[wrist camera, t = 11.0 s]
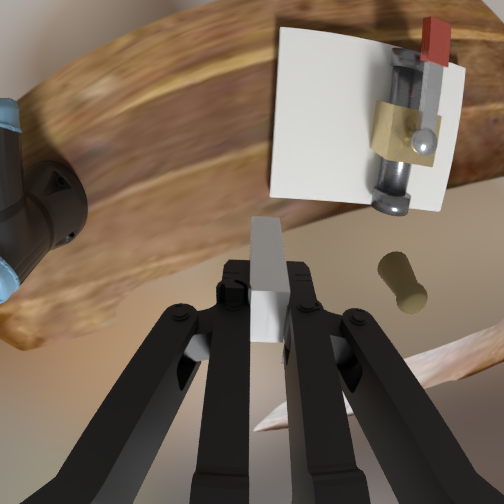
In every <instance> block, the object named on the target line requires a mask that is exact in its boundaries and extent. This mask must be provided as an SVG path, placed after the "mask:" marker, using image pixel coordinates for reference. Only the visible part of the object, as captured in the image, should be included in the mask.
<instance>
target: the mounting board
mask: <svg viewBox="0 0 504 504" xmlns="http://www.w3.org/2000/svg"><path fill="white" fill-rule="evenodd" d="M392 48H401V47H397V46H394V45H390V44H385V43H381V42H377V41H372V40H368V39H363V38H358V37H353V36H347V35H342V34H335V33H329V32H322V31H315V30H307V29H298V28H287V27H280V29H279V47H278V65H277V82H276V99H275V115H274V131H273V146H272V161H271V176H270V191H269V193H270V197H277V198H295V199H310V200H325V201H338V202H350V203H362V204H371V200H372V195H373V189H374V187H375V186H377V182H378V176H379V170H380V164H381V158H382V156H380V155H379V154H377V153H376V152H375V151H373V150H372V149H370V143H371V136H372V129H373V121H374V113H375V104H376V100H378V101H384V102H389V101H390V92H391V82H392V72H393V66H391V65H390V63H391V49H392ZM464 79H465V68H463V67H461V66H458V65H455V64H453V63H450V62H449V65H448V67H444V69H443V79H442V87H441V95H440V103H439V109H438V115H440V116H442V118H441V125H440V131H439V137H438V145H437V148H436V154H435V159H434V164H433V167H427V166H421V165H416V164H412V166H411V171H410V176H409V181H408V186H407V191H406V192H407V193H409V194H410V195H411V201H410V205H409V208H413V209H422V210H430V211H439V212H440V209H441V205H442V201H443V198H444V194H445V190H446V185H447V181H448V177H449V173H450V168H451V163H452V158H453V154H454V148H455V143H456V137H457V132H458V126H459V119H460V113H461V105H462V97H463V89H464Z"/></svg>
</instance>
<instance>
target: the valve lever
mask: <svg viewBox="0 0 504 504" xmlns="http://www.w3.org/2000/svg"><path fill="white" fill-rule="evenodd" d="M450 38H451V24H448V23H446V22H444V21H441V20H438V19H436V18H433V17H427V18H423V29H422V45H421V58H420V61H423V62H425V64H424V74H423V83H422V91H421V99H420V106H419V113H418V119H417V126H416V128H415V129H414V130H413V131H412V132H411V134H410V137H409V143H410V146H411V148H412V149H413V150H414V151H416V152H417V153H419V154H421V155H423V156H429V155H431V154H433V153H434V152H435V150H436V148H437V145H438V140H437V137H436V135H435V128H436V122H437V116H438V109H439V103H440V95H441V87H442V79H443V69H444V67H448V65H449V53H450Z"/></svg>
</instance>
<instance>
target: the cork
mask: <svg viewBox="0 0 504 504" xmlns="http://www.w3.org/2000/svg"><path fill="white" fill-rule="evenodd" d="M378 274H379V275H380V277H381V278H382V279H383V280H384V281H385V283H386V284H387V285H388V287H389V288H390V289H391V290H392V292H393V293H394V294H395V296H396V301H397V305H398V307H399V309H400V310H401V311H402V312H404V313H406V314H415V313H417V312H418V311H420V310H421V309H423V307H424V306H425V304H426V302H427V292H426V290H425V289H424V287H423V286H422V285H421V284H419V283H418V282H417V280H416V277H415V275H414V272H413V270H412V268H411V265H410V263H409V261H408V259H407V257H406V255H405V254H403V253H402V252H391V253H389V254H387V255H386V256H384V257H383V258H382V260H381V261H380V263H379V265H378Z"/></svg>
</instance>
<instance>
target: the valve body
mask: <svg viewBox="0 0 504 504" xmlns="http://www.w3.org/2000/svg"><path fill="white" fill-rule="evenodd" d="M420 58H421V52H419V51H415V50H411V49H405V48H392V49H391V63H390V65H391V66H393V72H392V82H391V92H390V101H389V102H384V101H378V100H376V104H375V113H374V121H373V129H372V136H371V143H370V149H372V150H373V151H375V152H376V153H377V154H379V155H380V156H382V158H381V164H380V170H379V176H378V182H377V186H375V187H374V189H373V195H372V200H371V206H372V207H373V208H374V209H376V210H378V211H380V212H382V213H385V214H388V215H392V216H405V215H407V213H408V209H409V205H410V201H411V195H410V194H409V193H407V192H406V191H407V186H408V181H409V176H410V171H411V166H412V164H416V165H421V166H427V167H433V164H434V159H435V154H436V150H435V152H434V153H433V154H431V155H429V156H423V155H421V154H419V153H417V152H416V151H414V150H413V149H412V148H411V146H410V143H409V137H410V134H411V132H412V131H413V130H414V129H415V128H416V126H417V119H418V113H419V106H420V99H421V91H422V83H423V74H424V64H425V62H423V61H420ZM441 118H442V116H440V115H438V116H437V122H436V128H435V135H436V137H437V140H438V137H439V131H440V125H441Z"/></svg>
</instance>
